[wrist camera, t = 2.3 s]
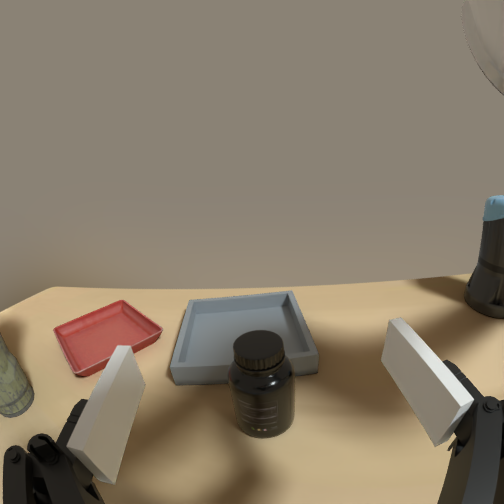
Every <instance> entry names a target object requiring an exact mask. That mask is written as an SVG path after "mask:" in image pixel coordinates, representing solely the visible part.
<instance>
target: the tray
mask: <svg viewBox="0 0 504 504" xmlns="http://www.w3.org/2000/svg"><path fill="white" fill-rule="evenodd" d="M255 330H267V331H271V332H274V333H277V334H278V335H279V336H280V337H281V338H282V340H283V342H284V350H285V355H286V356H287V357H288V358H289V359H290V360H291V362H292V363H293V366H294V369H295V376H301V375H307V374H314V373H318V361H319V353H318V351H317V348H316V346H315V343H314V341H313V339H312V336H311V334H310V331H309V329H308V327H307V324H306V322H305V320H304V317H303V315H302V313H301V310H300V308H299V306H298V303H297V301H296V299H295V296H294V294H293V292H292V291H283V292H274V293H264V294H254V295H244V296H233V297H222V298H209V299H197V300H189V303H188V306H187V309H186V313H185V316H184V319H183V323H182V326H181V329H180V333H179V336H178V340H177V343H176V346H175V350H174V354H173V357H172V361H171V364H170V370H171V373H172V376H173V379H174V381H175V384H176V385H205V384H226V383H229V382H228V369H229V367H230V365H231V363H232V362H233V360H234V353H233V343H234V342H235V340H236V339H237V338H238V337H239V336H240V335H242V334H244V333H247V332H250V331H255Z"/></svg>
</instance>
